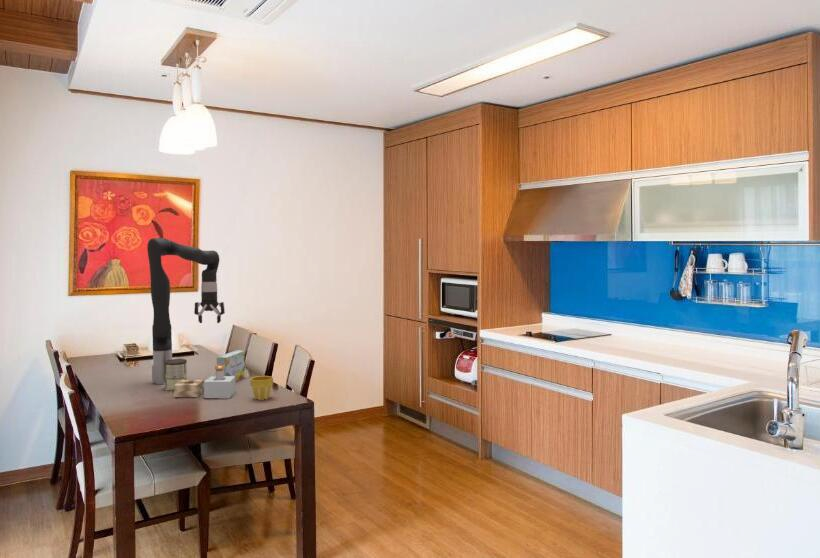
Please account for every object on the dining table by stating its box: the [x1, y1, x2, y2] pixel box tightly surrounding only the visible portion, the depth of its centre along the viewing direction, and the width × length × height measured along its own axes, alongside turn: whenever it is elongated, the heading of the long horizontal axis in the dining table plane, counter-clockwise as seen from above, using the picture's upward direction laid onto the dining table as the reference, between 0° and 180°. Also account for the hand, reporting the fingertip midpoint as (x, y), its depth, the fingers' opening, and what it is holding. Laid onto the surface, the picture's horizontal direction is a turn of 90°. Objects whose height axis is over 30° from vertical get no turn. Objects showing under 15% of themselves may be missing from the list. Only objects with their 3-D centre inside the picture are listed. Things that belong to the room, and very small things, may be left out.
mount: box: [173, 379, 205, 398], centre depth 297 cm, size 11×11×6 cm
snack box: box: [216, 349, 246, 382], centre depth 325 cm, size 21×6×15 cm, turn 168°
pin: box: [214, 364, 225, 380], centre depth 296 cm, size 4×4×14 cm
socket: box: [203, 375, 237, 399], centre depth 296 cm, size 12×12×8 cm
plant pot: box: [249, 375, 274, 401], centre depth 291 cm, size 10×10×10 cm
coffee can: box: [165, 358, 188, 391], centre depth 309 cm, size 10×10×14 cm
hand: (209, 323), depth 309 cm, fingers open, 8 cm apart
